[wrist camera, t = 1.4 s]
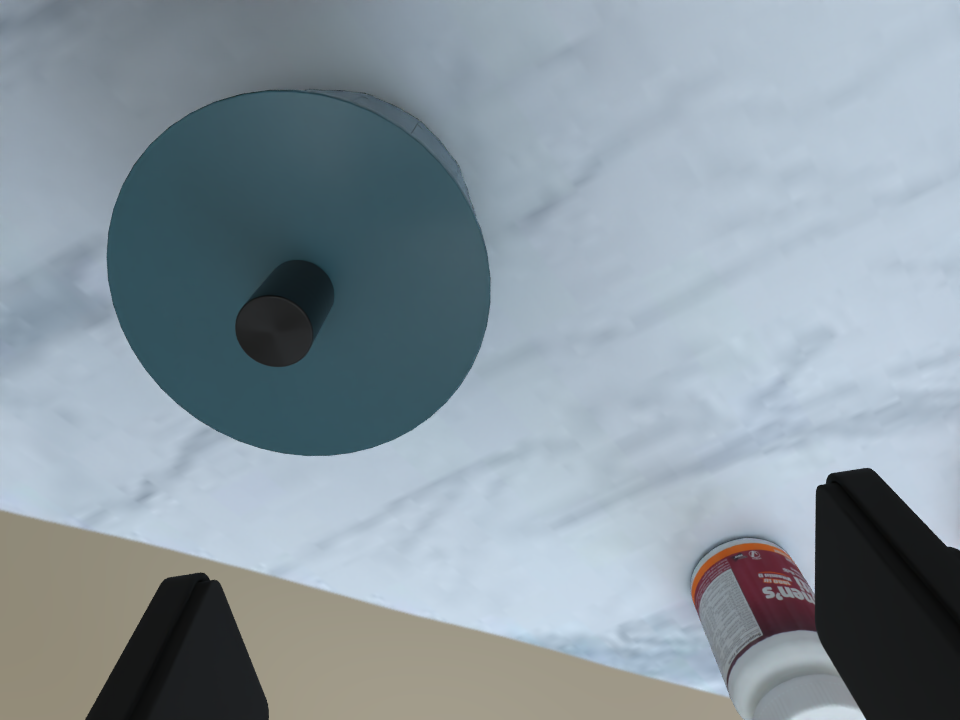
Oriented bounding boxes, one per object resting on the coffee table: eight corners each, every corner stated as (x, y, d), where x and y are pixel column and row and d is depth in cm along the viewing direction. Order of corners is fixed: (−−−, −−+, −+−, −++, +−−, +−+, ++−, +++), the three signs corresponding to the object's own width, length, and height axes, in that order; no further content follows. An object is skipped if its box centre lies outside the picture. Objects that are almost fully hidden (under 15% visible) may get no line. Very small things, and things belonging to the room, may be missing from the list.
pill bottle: (813, 552, 42) (925, 718, 32) (758, 630, 45) (846, 808, 34) (719, 520, 41) (803, 680, 31) (668, 600, 44) (730, 775, 33)
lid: (142, 433, 30) (81, 507, 25) (94, 74, 24) (6, 82, 20) (478, 450, 30) (479, 525, 26) (503, 102, 25) (511, 116, 20)
